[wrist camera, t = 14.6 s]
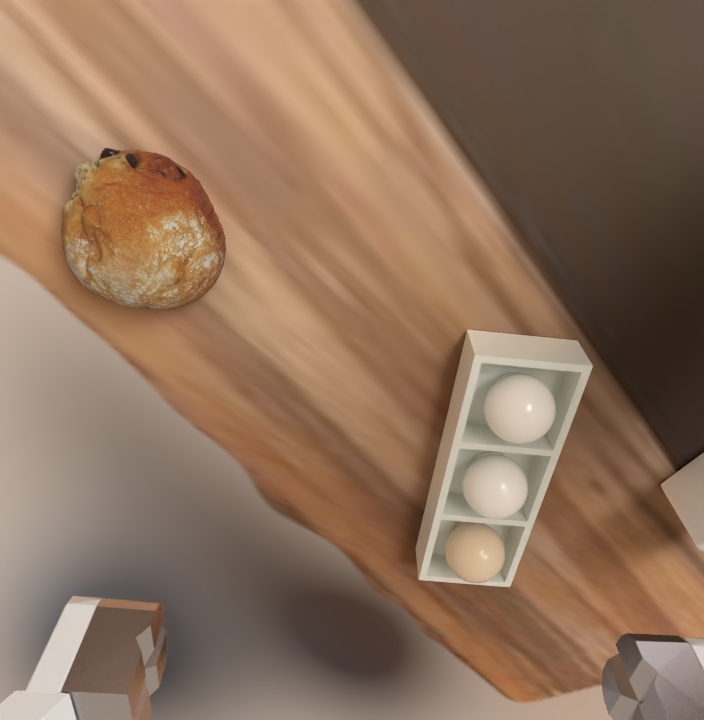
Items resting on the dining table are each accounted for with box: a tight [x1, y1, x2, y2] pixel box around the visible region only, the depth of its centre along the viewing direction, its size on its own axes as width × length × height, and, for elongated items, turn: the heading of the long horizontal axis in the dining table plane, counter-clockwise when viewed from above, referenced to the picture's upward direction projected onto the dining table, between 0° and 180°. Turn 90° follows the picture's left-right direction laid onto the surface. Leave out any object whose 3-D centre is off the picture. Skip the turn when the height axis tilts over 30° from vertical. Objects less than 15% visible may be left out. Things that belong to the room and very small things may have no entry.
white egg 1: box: [484, 372, 556, 444], centre depth 43 cm, size 5×5×5 cm
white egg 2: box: [462, 451, 528, 520], centre depth 47 cm, size 5×5×5 cm
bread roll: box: [61, 148, 226, 309], centre depth 39 cm, size 10×10×8 cm
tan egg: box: [445, 521, 505, 583], centre depth 51 cm, size 5×5×5 cm
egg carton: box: [415, 330, 593, 587], centre depth 49 cm, size 8×23×4 cm, turn 174°
